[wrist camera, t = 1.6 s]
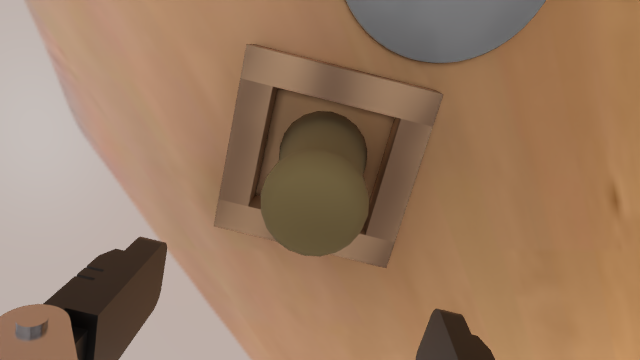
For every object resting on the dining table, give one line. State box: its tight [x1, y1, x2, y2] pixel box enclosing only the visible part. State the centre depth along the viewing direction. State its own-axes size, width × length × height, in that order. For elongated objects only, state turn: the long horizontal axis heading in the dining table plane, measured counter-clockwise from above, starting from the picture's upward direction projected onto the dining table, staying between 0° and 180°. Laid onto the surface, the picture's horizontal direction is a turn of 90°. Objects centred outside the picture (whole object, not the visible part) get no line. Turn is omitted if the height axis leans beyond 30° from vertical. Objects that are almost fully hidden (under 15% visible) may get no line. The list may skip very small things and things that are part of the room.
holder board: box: [214, 44, 443, 268], centre depth 28 cm, size 12×12×2 cm
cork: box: [261, 111, 369, 256], centre depth 24 cm, size 6×6×11 cm
